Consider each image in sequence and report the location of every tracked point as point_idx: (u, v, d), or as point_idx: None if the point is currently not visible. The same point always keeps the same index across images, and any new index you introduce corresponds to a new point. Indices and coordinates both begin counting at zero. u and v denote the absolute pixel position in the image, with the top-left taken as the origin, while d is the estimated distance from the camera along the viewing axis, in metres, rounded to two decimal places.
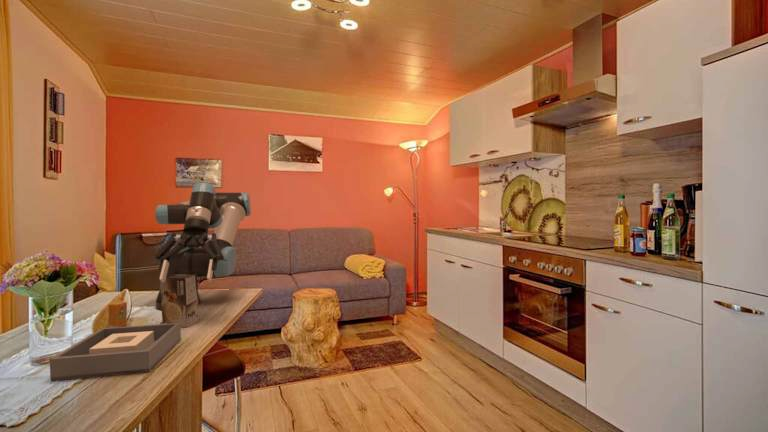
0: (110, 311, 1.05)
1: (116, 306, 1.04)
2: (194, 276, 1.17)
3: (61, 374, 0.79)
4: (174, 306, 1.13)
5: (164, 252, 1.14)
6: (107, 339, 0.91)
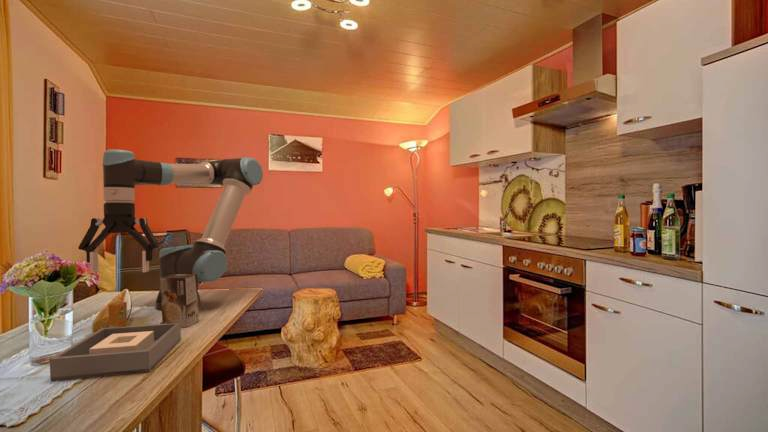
0: (110, 311, 1.05)
1: (116, 306, 1.04)
2: (194, 276, 1.17)
3: (61, 374, 0.79)
4: (174, 306, 1.13)
5: (88, 241, 1.04)
6: (107, 339, 0.91)
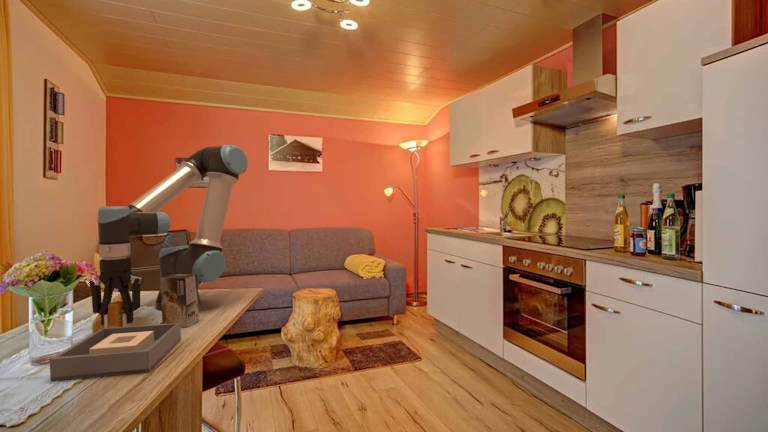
0: (110, 312, 1.05)
1: (116, 306, 1.04)
2: (194, 276, 1.17)
3: (61, 374, 0.79)
4: (174, 306, 1.13)
5: (98, 302, 1.05)
6: (107, 339, 0.91)
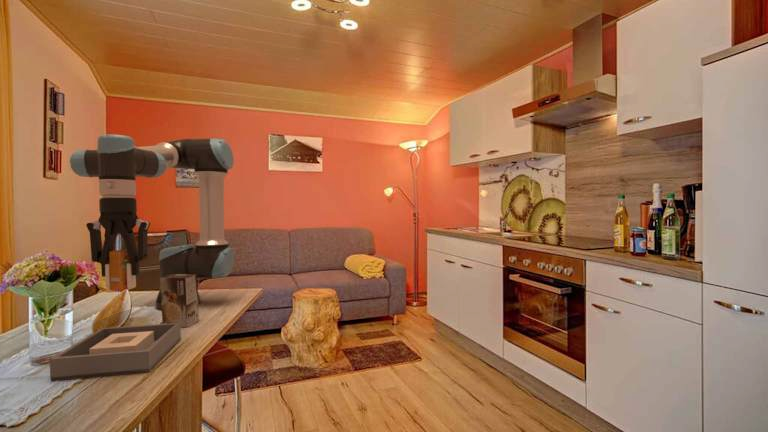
0: (111, 261, 0.88)
1: (118, 254, 0.88)
2: (194, 276, 1.17)
3: (61, 374, 0.79)
4: (174, 306, 1.13)
5: (98, 249, 0.88)
6: (107, 339, 0.91)
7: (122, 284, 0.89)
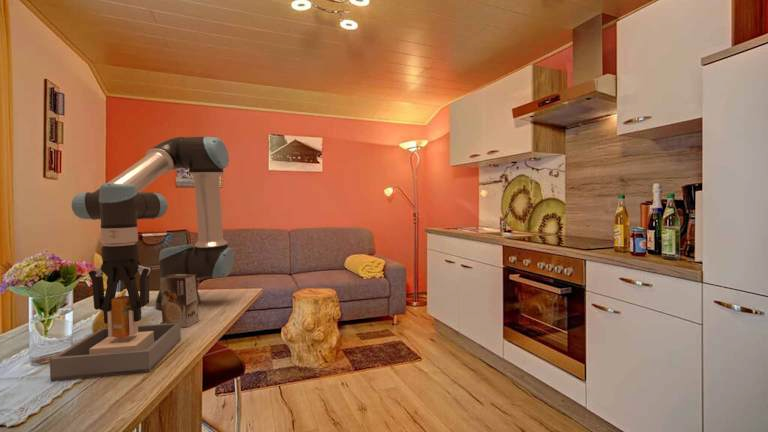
0: (113, 308, 0.89)
1: (121, 301, 0.88)
2: (194, 276, 1.17)
3: (61, 374, 0.79)
4: (174, 306, 1.13)
5: (100, 297, 0.89)
6: (107, 339, 0.91)
7: (124, 331, 0.89)
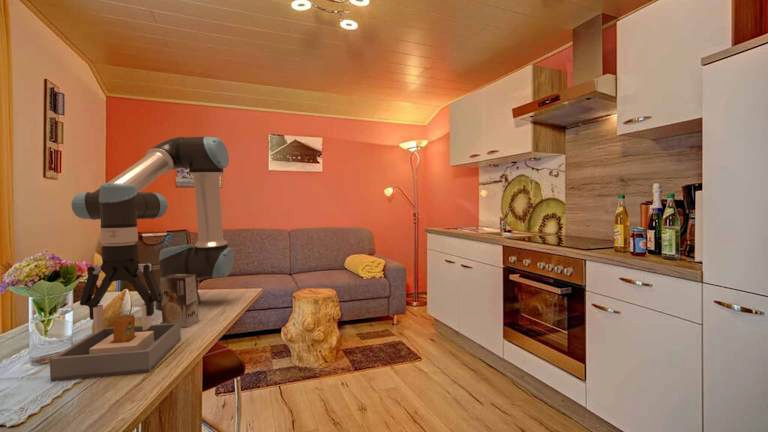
0: (115, 327, 0.89)
1: (123, 321, 0.89)
2: (194, 276, 1.17)
3: (61, 374, 0.79)
4: (174, 306, 1.13)
5: (89, 293, 0.88)
6: (107, 339, 0.91)
7: None
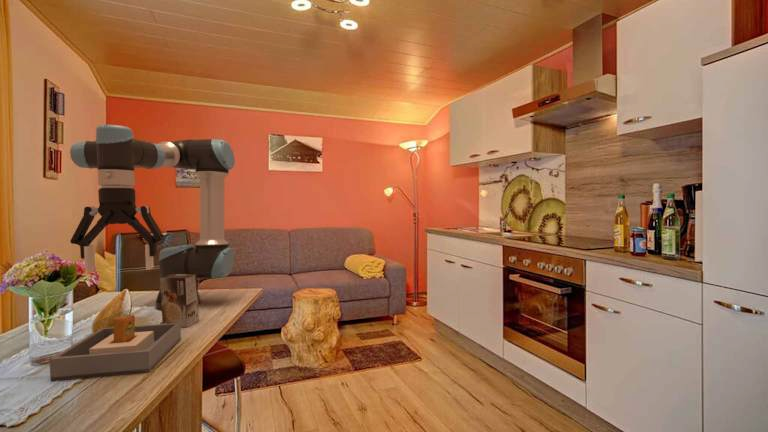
0: (115, 327, 0.89)
1: (123, 321, 0.89)
2: (194, 276, 1.17)
3: (61, 374, 0.79)
4: (174, 306, 1.13)
5: (82, 233, 0.88)
6: (107, 339, 0.91)
7: None
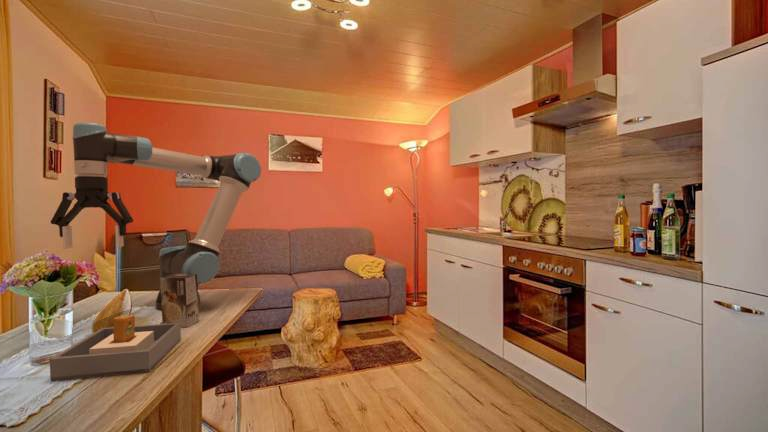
0: (115, 327, 0.89)
1: (123, 321, 0.89)
2: (194, 276, 1.17)
3: (61, 374, 0.79)
4: (174, 306, 1.13)
5: (61, 215, 1.03)
6: (107, 339, 0.91)
7: None
